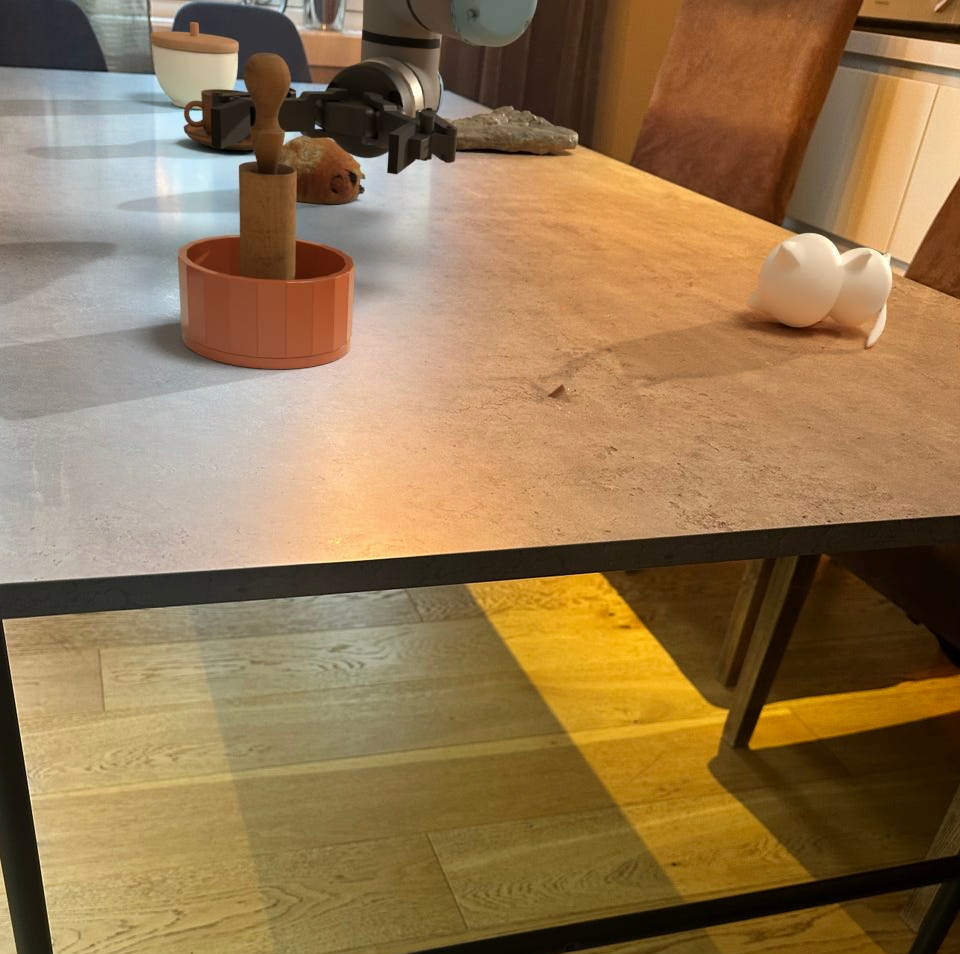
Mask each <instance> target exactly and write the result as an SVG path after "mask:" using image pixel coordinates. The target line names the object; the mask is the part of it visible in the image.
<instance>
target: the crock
mask: <svg viewBox="0 0 960 954" xmlns="http://www.w3.org/2000/svg"><path fill="white" fill-rule="evenodd" d="M177 267H178V268H177V269H178V285H179V286H178V287H179V288H178V289H179V306H180V307H179V308H180V309H179V310H180V328H181V338H182V342H183V343H184V345H185V346H186V347H187V348H188V349H189V350H191V351H192V352H193V353H195V354H197V355H199V356H201V357H204V358H206V359H209V360H212V361H216V362H219V363H223V364H227V365H232V366H237V367H244V368H252V369H261V370H262V369H263V370H264V369H265V370H266V369H267V370H290V369H291V370H292V369H303V368H311V367H317V366H321V365H326V364H328V363H332V362H335V361H337V360H339V359H341V358H342V357H345V355H346V354H348V353H349V351H350V349H351V345H352V337H353V319H354V318H353V317H354V313H353V312H354V292H355V291H354V290H355V267H356V266H355V263H354V261H353V259H352V256H350V255H348V254H346V253H345V252H344V251H342V250H340V249H337V248H334V247H332V246H329V245H326V244H323V243H320V242H314V241H310V240H307V239H306V240H305V239H301V238H296V252H295V280H268V279H254V278H247V277H240V234H226V235H218V236H211V237H210V236H209V237H203V238H200V239H199V238H198V239H196V240H193V241H190V242H187V243H185V244H184V245H182V246H181V247H180V248H178V251H177Z"/></svg>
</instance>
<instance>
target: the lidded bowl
mask: <svg viewBox="0 0 960 954" xmlns="http://www.w3.org/2000/svg"><path fill="white" fill-rule="evenodd" d="M149 41H150V44H151V56H152V62H153V64H152V65H153V70H154V73H155V77H156V80H157V82H158V84H159V86H160V88H161V90H162V91H163V92H164V94H165V95H166V96H167V97H168V99H170V100H171V102H172V105H173V106H176V107H179V108H184V109H185V107H186V105H187V104H188V103H189V102H191V101H202V99H201V91H203V90H209V89H224V90H235V86H236V82H237V77H238V68H239V54H238V53H239V51H240V50H239V49H240V48H239V47H240V45H239V41H237V40H236V39H233V38H230V37H225V36H221V35H214V34H209V33H207V34H206V33H200V29H199V23H198V22H196V21H195V22H193V21H190V22H189V32H187V31H154V32H151V33H150V35H149ZM190 110H200V111H202V108H200V107H197V106H195V107H192V108H191V109H190Z"/></svg>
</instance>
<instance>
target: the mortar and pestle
mask: <svg viewBox="0 0 960 954" xmlns="http://www.w3.org/2000/svg"><path fill="white" fill-rule="evenodd" d="M291 83H292V78H291V71H290V68H289V65H288V63H286V61H285V59H284V58H283V57H281V56H280V55H278V54H276V53H271V52H258V53H255V54H253V55H251V56H250V57H249V58H248V59H247V61H246V62H245V64H244V68H243V84H244V85H245V89H246V90H247V91H246V92H248V93H249V95H250V97H251V99H252V101H253V103H254V105H255V108H256V120H255V124H254V126H253V127H251V128H250V135H251V141H252V145H253V149H254V150H253V152H254V156H255V160H256V161H255V160H253V161H247V162H246V161H245V162H242V163H240V164H239V165H238V195H239V196H238V197H239V200H238V201H239V235H240V277H247V278H254V279H268V280H295V252H296V239H297V201H296V185H297V171H296V169H294V168H293V167H290V166H287V165H284V164H279V159H280V155H281V151H282V147H283V145H284V144H285V143H284V142H285V137H286V136H285V135H286V132H285V131H284V130H283V129H281V128H280V126H279V123H278V113H279V109H280V107H281V105H282V103H283V101H284V99H285V97H286V95H287V93H288V91H289V89H290V88H291V85H292V84H291Z"/></svg>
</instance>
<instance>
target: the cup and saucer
mask: <svg viewBox="0 0 960 954" xmlns="http://www.w3.org/2000/svg"><path fill="white" fill-rule="evenodd" d="M215 92H221V93H233V92H245V91H243V90H236V89H233V90H224V89H209V90H203V91H201V99H202V101H191V102H189V103H188V104H187V105H186V107H185V108H184V110H183V115H184V120H185V122H186V124H184V125H183V131H184V133H185V134H186V135H187V136H188V138H190V139H191V140H192V141H194V142H196V143H199V144H200V145H204V146H208V147H210V148H212V140H211V94H212V93H215ZM195 106H197V107H200V108H202V110H201V116H202V119H200V120H198V121H194V120H193V119H192V118H191V116H190V111H191V110H192V109H191V108H192V107H195ZM222 150H227V151H254V149H253V145H252V141H251V135H250V137H249V138H247V139H244V140H242V143H235V144H232V145H230V146H228V147H225V148H223V149H222Z"/></svg>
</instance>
